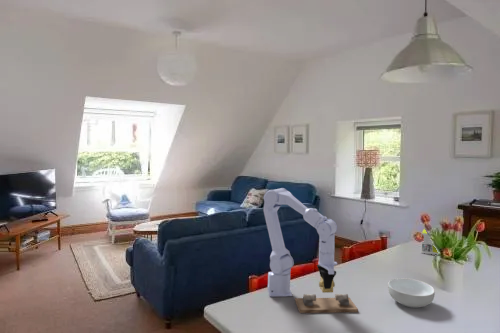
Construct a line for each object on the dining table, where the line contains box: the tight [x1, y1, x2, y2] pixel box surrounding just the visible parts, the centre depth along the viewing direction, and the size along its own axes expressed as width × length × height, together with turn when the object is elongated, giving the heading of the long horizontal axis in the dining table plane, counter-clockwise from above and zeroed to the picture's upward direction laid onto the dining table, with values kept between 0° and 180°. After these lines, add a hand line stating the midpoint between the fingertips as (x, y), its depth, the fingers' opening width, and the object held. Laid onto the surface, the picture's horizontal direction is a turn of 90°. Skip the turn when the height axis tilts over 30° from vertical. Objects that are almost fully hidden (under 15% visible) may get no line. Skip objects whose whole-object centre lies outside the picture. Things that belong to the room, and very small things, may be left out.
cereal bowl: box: [387, 277, 436, 309], centre depth 140 cm, size 17×17×7 cm
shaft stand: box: [294, 293, 359, 314], centre depth 137 cm, size 22×10×5 cm, turn 92°
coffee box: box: [420, 228, 438, 256], centre depth 208 cm, size 12×12×12 cm
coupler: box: [318, 275, 336, 294], centre depth 137 cm, size 6×4×5 cm
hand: (326, 285), depth 137 cm, fingers closed on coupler, 4 cm apart
